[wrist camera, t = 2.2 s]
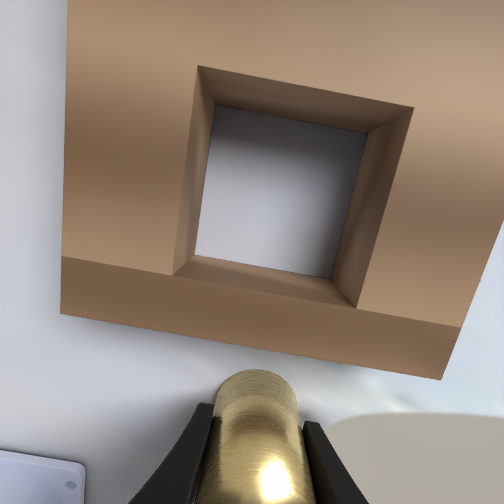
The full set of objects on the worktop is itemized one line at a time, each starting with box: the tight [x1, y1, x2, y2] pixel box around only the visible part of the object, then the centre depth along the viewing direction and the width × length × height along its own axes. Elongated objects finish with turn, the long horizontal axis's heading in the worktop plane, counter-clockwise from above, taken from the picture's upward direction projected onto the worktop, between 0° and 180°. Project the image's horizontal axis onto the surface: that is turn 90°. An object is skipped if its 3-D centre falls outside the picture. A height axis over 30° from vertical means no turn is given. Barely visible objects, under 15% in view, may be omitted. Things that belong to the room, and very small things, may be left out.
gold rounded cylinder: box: [194, 370, 316, 504], centre depth 10 cm, size 4×4×5 cm
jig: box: [60, 0, 504, 380], centre depth 9 cm, size 14×13×3 cm
